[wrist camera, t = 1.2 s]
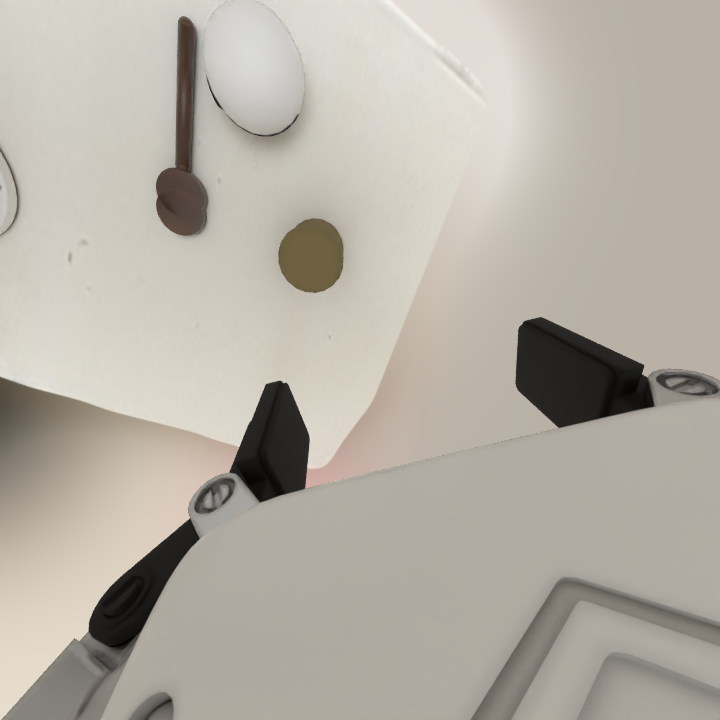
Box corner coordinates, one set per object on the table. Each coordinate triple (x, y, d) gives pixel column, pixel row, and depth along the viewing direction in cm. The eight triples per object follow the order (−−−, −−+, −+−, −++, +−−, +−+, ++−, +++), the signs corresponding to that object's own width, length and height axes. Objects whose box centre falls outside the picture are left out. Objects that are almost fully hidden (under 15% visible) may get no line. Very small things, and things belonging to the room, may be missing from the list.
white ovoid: (227, 15, 22) (184, -69, 16) (317, 61, 24) (312, 3, 17) (213, 158, 26) (175, 138, 20) (291, 189, 28) (279, 180, 21)
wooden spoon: (205, 240, 29) (200, 241, 28) (161, 227, 28) (155, 227, 27) (218, 35, 23) (212, 26, 21) (161, 9, 22) (153, -1, 21)
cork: (317, 205, 29) (311, 198, 19) (354, 252, 31) (365, 268, 21) (276, 244, 30) (251, 257, 20) (315, 287, 33) (308, 317, 23)
